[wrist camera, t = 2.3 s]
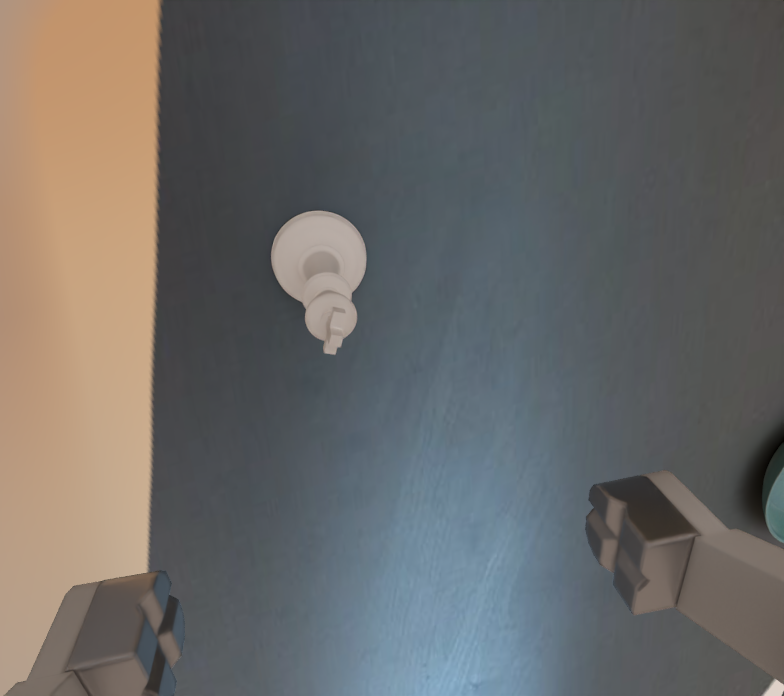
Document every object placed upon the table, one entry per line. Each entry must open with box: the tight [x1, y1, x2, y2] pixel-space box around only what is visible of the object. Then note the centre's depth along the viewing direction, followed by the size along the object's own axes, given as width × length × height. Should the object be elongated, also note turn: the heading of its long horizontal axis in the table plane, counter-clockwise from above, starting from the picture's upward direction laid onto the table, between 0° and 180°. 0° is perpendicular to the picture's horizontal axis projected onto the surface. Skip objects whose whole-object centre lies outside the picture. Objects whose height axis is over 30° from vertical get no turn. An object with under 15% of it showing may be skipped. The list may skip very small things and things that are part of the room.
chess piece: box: [271, 211, 366, 355], centre depth 22 cm, size 5×5×10 cm
